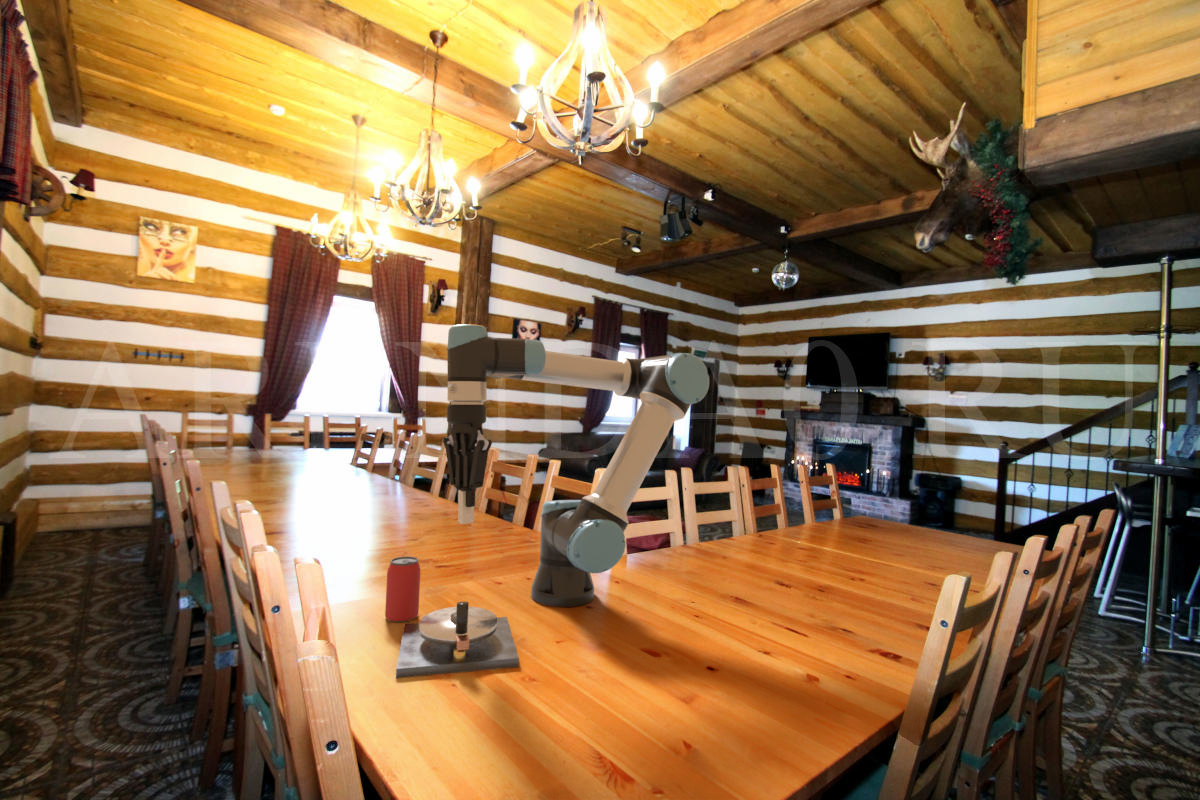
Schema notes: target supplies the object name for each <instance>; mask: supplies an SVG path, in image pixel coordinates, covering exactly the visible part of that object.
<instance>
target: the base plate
mask: <svg viewBox="0 0 1200 800" xmlns="http://www.w3.org/2000/svg"><path fill="white" fill-rule="evenodd" d="M519 659H520V657H519V654H518V651H517V648H516V643H515V640H514V636H513V634H512V630H511V627H510V623H509V620H508V617H507V616H501V617H500V616H497V629H496V631H495V632H494V633H493V634H492V635H491V636H489V637H487V638H485V639H483V640H480V641H477V642H473V643H469V649H467V650H457V649H456V645H445V644H437V643H433V642H429V641H427V640H425V639H423V638H422V637H421V636H420V634H419V622H409V623H404V626H403V631H402V637H401V642H400V647H399V653H398V658H397V664H396V670H395V679H400V678H401V679H402V678H411V677H412V678H413V677H424V676H431V675H432V676H434V675H444V674H455V673H456V674H457V673H465V672H475V671H488V670H498V669H507V668H508V669H510V668H519V662H520V661H519Z"/></svg>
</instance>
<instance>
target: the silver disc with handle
mask: <svg viewBox="0 0 1200 800" xmlns="http://www.w3.org/2000/svg"><path fill="white" fill-rule="evenodd" d="M469 604H470V603H469V601H458V602H457V603H456V606H451V607H444V608H441V609H437V610H434V611H431V612H428V613H427V614H425V615H424V616H422V618H420V621H419V622H418V623H419V634H420V636H421V637H422V638H423V639H425V640H427V641H429V642H433V643H437V644H445V645H456V649H457V650H467V649H469V643H473V642H477V641H480V640H483V639H485V638H487V637H489V636H491V635H492V634H493V633H494V632H495V631H496V629H497V617H498V616H497V614H495V612H493V611H491V610H489V609H487V608H483V607H476V606H469Z"/></svg>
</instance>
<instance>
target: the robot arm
mask: <svg viewBox="0 0 1200 800" xmlns="http://www.w3.org/2000/svg"><path fill="white" fill-rule="evenodd" d="M446 351H447V354H446V355H447V360H446V361H447V401H448V402H450V404H448V405H446V421H447V423H448V424H450V425H451V429H450V435H449V436H448V437H447V436H446V437H443V438H442V442H443V443H442V444H443V446H444V448H445V452H446V453H445V454H446V461H447V469H448V476H449V477H448V478H449V484H450V485H451V486H454V487H455V489H456V490H457V492H456V493H457V497H456V499H457V500H456V501H457V502H456V503H457V506H458V507H457V511H458V512H457V523H458V524H460V525H466V524H471V523H474V522H475V506H476V490H477V489H479V488H482V487H483V486H484V481H485V475H486V470H487V461H488V457H489V456H488V455H489V450H490V448H491V446H492V444H493V443H492V442H493V441H492V440H491V439H486V438H485V436H484V430H483V426H482V425H483V424H485V423H486V422H487V406H486V405H485V404H484V403H485V402H487V376H488V377H490V378H492V379H510V380H519V381H520V380H521V381H529V382H537V383H543V384H544V383H546V384H552V385H553V384H554V385H561V386H569V387H578V388H579V387H580V388H587V389H594V390H603V391H611V392H614V393H615V395H617V396H621V397H627V398H633V399H637V400H640V401H641V404H640V406H639V408H638V409H637V412H636V414H635V415H634V417H633V419H632V421H631V422H630V425H629V427H628V429H627V430H626V432H625V434H624V435H623V438H622V439H621V441H620V443H619V444H618V447H617V448H616V450H615V452H614V454H613V456H612V458H611V459H610V461H609V463H608V465H607V466H606V468H605V471H603V474H602V475H601V478H600V479H599V482H598V483H597V486H596V487H595V489H594V490H593V493H591V494H589V495H585V496H583V497H582V498H581V499H558V500H557V499H556V500H546V501H545V502H544V503H543V505H542V507H541V508H542V509H541V514H540V518H541V520H540V522H541V523H540V526H541V527H540V551H539V552H540V553H539V557H540V558H539V563H538V564H539V565H538V567H537V570H536V573H535V576H534V579H533V581H532V584H531V589H530V591H531V593H530V596H531V597H530V598H531V599H533V601H535V602H537V603H538V604H542V605H545V606H550V607H558V608H560V607H561V608H562V607H563V608H568V607H569V608H570V607H579V606H583V605H585V604H589V603H590V602H592V601H593V600H594V598H595V585H594V581H593V578H592V574H601V573H603V572H607V571H610V570H611V569H612V568H614V567H615V566H616V565H617V564H618V563H619V562H620V561H621V559H622V557H623V555H624V553H625V550H626V543H627V542H626V539H625V538H626V536H625V531H626V529H627V527H628V525H629V519H628V516H627V515H628V514H627V513H628V510H629V508H630V506H631V505H632V502H633V501H634V499H635V497H636V495H637V492H638V491H639V489H640V487H641V485H642V484H643V482H644V480H645V478H646V475H648V472H649V470H650V469H651V466H652V465H653V463H654V461H655V458H656V457H657V455H658V453H659V451H660V449H661V448H662V445H663V443H665V440H666V438H667V436H668V434H669V433H670V430H671V428H672V427H673V425H674V423H675V421H679V420H682V419H684V418H685V417H686V414H687V413H688V411H689V409H690V407H691V405H693V404H697V403H699V402H701V401H702V400H703V399H704V398H705V397H706V396H707V394H708V391H709V387H710V375H709V374H708V373H709V372H708V369H707V366H706V365H705V363H704V361H703V360H702V359H700V358H699V357H698V356H696V355H695V354H693V353H689V352H688V353H686V352H675V353H672V354H667V355H659V356H657V355H656V356H651V357H646V358H645V357H644V358H626V357H622V358H619V359H618V360H611V359H606V358H605V359H604V358H597V357H590V356H583V355H578V354H572V353H563V352H562V353H561V352H556V351H548V350H546V349H545V345H544V343H543V342H542V341H540V340H537V339H530V338H509V337H494V336H493V337H492V336H488V332H487V328H486V327H485V326H484V325H477V324H468V323H467V324H454V325H452V326H451V327H450V328H449V329H448V339H447V348H446Z"/></svg>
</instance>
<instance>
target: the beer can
mask: <svg viewBox="0 0 1200 800" xmlns="http://www.w3.org/2000/svg"><path fill="white" fill-rule="evenodd" d="M389 561H390V564H389V566H388V568H387V573H386V593H385V611H384V615H385V618H386V620H387V621H389V622H392V623H405V621H406V622H409V620H410V621H413V620H414V619H416V618H417V617H418V616H419V610H420V609H419V608H420V607H419V605H420V587H421V586H420V584H421V567H420V566H421V565H420V563H419V559H418V557H415V556H399V557H395V558H392V559H391V560H389Z"/></svg>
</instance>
